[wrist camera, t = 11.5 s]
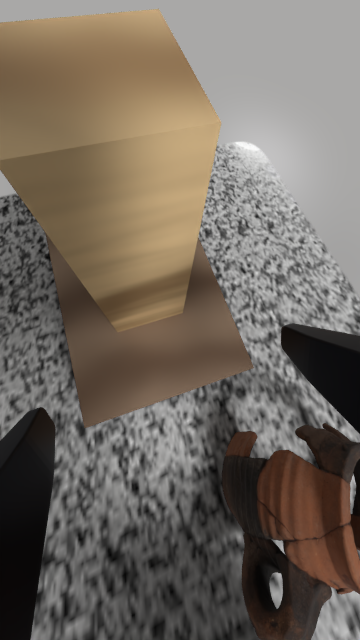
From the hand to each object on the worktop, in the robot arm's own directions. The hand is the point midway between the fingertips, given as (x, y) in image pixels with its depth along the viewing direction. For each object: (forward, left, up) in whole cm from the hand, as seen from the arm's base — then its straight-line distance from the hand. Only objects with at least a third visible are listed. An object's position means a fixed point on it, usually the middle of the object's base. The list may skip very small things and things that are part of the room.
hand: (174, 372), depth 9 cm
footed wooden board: (+2, -7, -12) cm, 14 cm away
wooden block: (+2, -7, -8) cm, 11 cm away
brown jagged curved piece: (-8, +8, -12) cm, 17 cm away
